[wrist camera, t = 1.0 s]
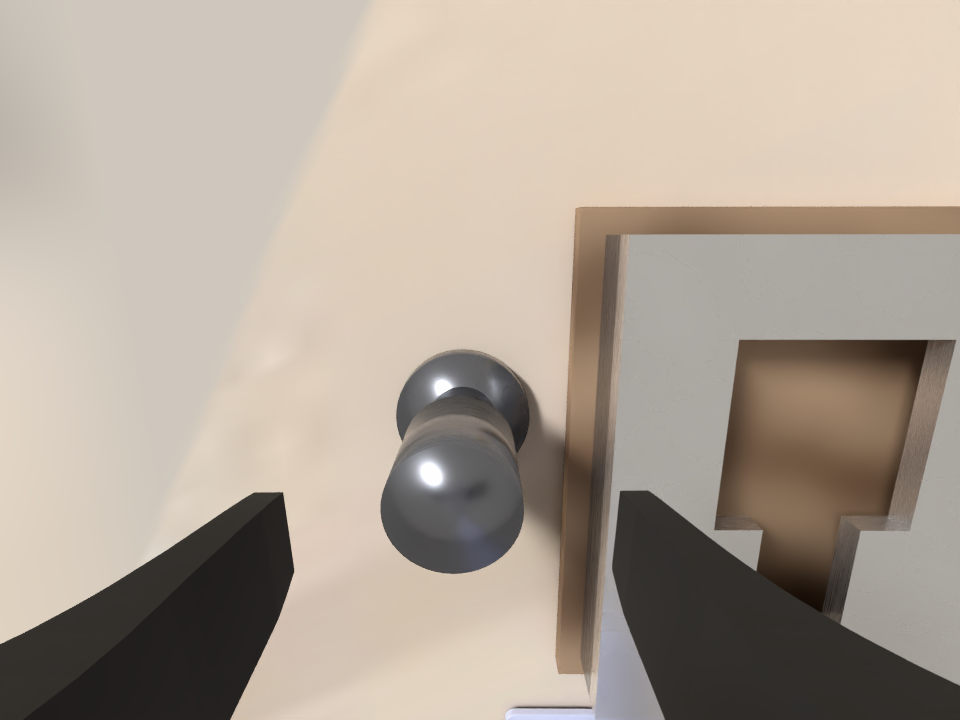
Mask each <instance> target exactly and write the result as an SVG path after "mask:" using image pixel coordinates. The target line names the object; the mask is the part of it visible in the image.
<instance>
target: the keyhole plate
mask: <svg viewBox="0 0 960 720" xmlns="http://www.w3.org/2000/svg"><path fill="white" fill-rule="evenodd" d="M739 340H928V344H927V348H926V353H925V357H924V362H923V366H922V370H921V375H920V379H919V383H918V388H917V392H916V396H915V401H914V405H913V409H912V414H911V418H910V422H909V427H908V431H907V435H906V440H905V444H904V448H903V453H902V457H901V462H900V466H899V470H898V475H897V479H896V483H895V488H894V492H893V496H892V501H891V505H890V509H889V514H888V516H841V521H840V525H839V530H838V535H837V540H836V545H835V550H834V555H833V560H832V565H831V570H830V575H829V579H828V584H827V589H826V594H825V599H824V604H823V609H822V614H824V615H825V616H827V617H829V618H831V619H832V620H834V621H836V622H837V623H839V624H841V625H842V626H844V627H846V628H848V629H850V630H851V631H853V632H855V633H857V634H859V635H861V636H862V637H864V638H866V639H868V640H870V641H872V642H874V643H876V644H877V645H879V646H881V647H883V648H885V649H887V650H889V651H891V652H893V653H895V654H897V655H899V656H901V657H903V658H904V659H906V660H908V661H910V662H912V663H914V664H916V665H918V666H920V667H922V668H924V669H926V670H928V671H930V672H933V673H935V674H937V675H939V676H941V677H943V678H945V679H947V680H949V681H951V682H953V683H955V684H958V685H960V234H652V235H606V241H605V257H604V274H603V291H602V307H601V324H600V340H599V357H598V373H597V390H596V406H595V423H594V439H593V456H592V472H591V489H590V505H589V522H588V538H587V555H586V571H585V588H584V604H583V621H582V637H581V654H580V658H581V662H582V666H583V671H584V675H585V679H586V684H587V688H588V692H589V697H590V701H591V706H592V710H593V714H594V719H622V720H665V718H664V716H663V713H662V711H661V708H660V706H659V703H658V701H657V698H656V696H655V693H654V691H653V688H652V686H651V683H650V681H649V678H648V676H647V673H646V671H645V668H644V666H643V663H642V661H641V658H640V656H639V653H638V650H637V648H636V645H635V643H634V640H633V638H632V635H631V633H630V630H629V627H628V625H627V622H626V620H625V617H624V614H623V610H622V607H621V603H620V599H619V596H618V592H617V588H616V584H615V580H614V576H613V572H612V561H613V552H614V542H615V533H616V524H617V514H618V505H619V496H620V491H638V490H648V491H650V492H651V493H653V494H654V495H656V496H657V497H658V498H660V499H661V500H662V501H664V502H665V503H666V504H667V505H669V506H670V507H671V508H672V509H674V510H675V511H676V512H678V513H679V514H680V515H681V516H683V517H684V518H685V519H686V520H688V521H689V522H690V523H692V524H693V525H694V526H695V527H697V528H698V529H699V530H700V531H702V532H703V533H704V534H706V535H707V536H708V537H710V538H711V539H712V540H714V541H715V542H716V543H717V544H719V545H720V546H721V547H723V548H724V549H726V550H727V551H728V552H730V553H731V554H732V555H734V556H735V557H736V558H738V559H739V560H741V561H742V562H743V563H745V564H746V565H748V566H749V567H751V568H752V569H753V570H755V571H756V570H757V564H758V557H759V551H760V545H761V539H762V533H763V530H762V529H761V528H760V527H759V526H758V525H757V524H756V523H755V522H754V521H753V520H752V519H751V517H750V516H749V515H716V511H717V504H718V496H719V489H720V481H721V474H722V466H723V458H724V451H725V443H726V436H727V428H728V421H729V413H730V406H731V398H732V391H733V383H734V375H735V368H736V360H737V353H738V345H739Z"/></svg>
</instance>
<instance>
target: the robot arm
mask: <svg viewBox="0 0 960 720" xmlns="http://www.w3.org/2000/svg"><path fill="white" fill-rule="evenodd" d="M612 572H613V576H614V580H615V584H616V588H617V592H618V596H619V599H620V603H621V607H622V610H623V614H624V617H625V620H626V622H627V625H628V627H629V630H630V633H631V635H632V638H633V640H634V643H635V645H636V648H637V650H638V653H639V656H640V658H641V661H642V663H643V666H644V668H645V671H646V673H647V676H648V678H649V681H650V683H651V686H652V688H653V691H654V693H655V696H656V698H657V701H658V703H659V706H660V708H661V711H662V713H663V716H664V718H665V720H960V685H958V684H955V683H953V682H951V681H949V680H947V679H945V678H943V677H941V676H939V675H937V674H935V673H933V672H930V671H928V670H926V669H924V668H922V667H920V666H918V665H916V664H914V663H912V662H910V661H908V660H906V659H904V658H903V657H901V656H899V655H897V654H895V653H893V652H891V651H889V650H887V649H885V648H883V647H881V646H879V645H877V644H876V643H874V642H872V641H870V640H868V639H866V638H864V637H862V636H861V635H859V634H857V633H855V632H853V631H851V630H850V629H848V628H846V627H844V626H842V625H841V624H839V623H837V622H836V621H834V620H832V619H831V618H829V617H827V616H825V615H824V614H822V613H820V612H819V611H817V610H815V609H814V608H812V607H810V606H809V605H807V604H805V603H804V602H802V601H800V600H799V599H797V598H796V597H794V596H792V595H791V594H789V593H788V592H786V591H785V590H783V589H781V588H780V587H778V586H777V585H775V584H774V583H772V582H771V581H770V580H768V579H767V578H765V577H764V576H762V575H761V574H759V573H758V572H756V571H755V570H753V569H752V568H751V567H749V566H748V565H746V564H745V563H743V562H742V561H741V560H739V559H738V558H736V557H735V556H734V555H732V554H731V553H730V552H728V551H727V550H726V549H724V548H723V547H721V546H720V545H719V544H717V543H716V542H715V541H714V540H712V539H711V538H710V537H708V536H707V535H706V534H704V533H703V532H702V531H700V530H699V529H698V528H697V527H695V526H694V525H693V524H692V523H690V522H689V521H688V520H686V519H685V518H684V517H683V516H681V515H680V514H679V513H678V512H676V511H675V510H674V509H672V508H671V507H670V506H669V505H667V504H666V503H665V502H664V501H662V500H661V499H660V498H658V497H657V496H656V495H654V494H653V493H651V492H650V491H648V490H638V491H620V496H619V505H618V514H617V524H616V533H615V542H614V552H613V561H612ZM293 574H294V565H293V558H292V551H291V544H290V537H289V530H288V524H287V517H286V510H285V503H284V496H283V492H275V493H253V494H251V495H249V496H248V497H246V498H244V499H243V500H241V501H240V502H238V503H236V504H235V505H233V506H232V507H230V508H229V509H227V510H226V511H224V512H223V513H221V514H220V515H218V516H217V517H215V518H214V519H213V520H211V521H210V522H208V523H207V524H205V525H204V526H202V527H201V528H199V529H198V530H196V531H195V532H193V533H192V534H190V535H189V536H187V537H186V538H184V539H183V540H181V541H180V542H178V543H177V544H175V545H174V546H172V547H171V548H169V549H168V550H166V551H165V552H163V553H162V554H160V555H159V556H157V557H155V558H154V559H152V560H151V561H149V562H147V563H146V564H144V565H142V566H141V567H139V568H138V569H136V570H134V571H133V572H131V573H130V574H128V575H126V576H125V577H123V578H122V579H120V580H119V581H117V582H115V583H114V584H112V585H110V586H109V587H107V588H105V589H104V590H102V591H100V592H99V593H97V594H95V595H93V596H92V597H90V598H88V599H86V600H84V601H83V602H81V603H79V604H77V605H76V606H74V607H72V608H70V609H68V610H66V611H65V612H63V613H61V614H59V615H57V616H55V617H54V618H51V619H50V620H48V621H46V622H44V623H42V624H40V625H39V626H37V627H35V628H33V629H31V630H29V631H27V632H25V633H23V634H21V635H19V636H17V637H14V638H12V639H10V640H8V641H6V642H4V643H2V644H0V720H230V719H231V717H232V715H233V713H234V711H235V708H236V706H237V704H238V702H239V700H240V698H241V696H242V694H243V692H244V690H245V688H246V686H247V684H248V682H249V679H250V677H251V675H252V673H253V671H254V669H255V667H256V665H257V663H258V661H259V659H260V657H261V655H262V652H263V650H264V648H265V646H266V644H267V642H268V640H269V638H270V636H271V633H272V631H273V629H274V627H275V625H276V623H277V621H278V618H279V616H280V613H281V610H282V607H283V604H284V601H285V599H286V596H287V592H288V589H289V586H290V583H291V580H292V577H293ZM505 720H622V719H594V714H593V710H592V709H548V708H514V709H510V710H508V711H507V712H506V715H505Z"/></svg>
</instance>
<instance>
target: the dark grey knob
mask: <svg viewBox="0 0 960 720" xmlns="http://www.w3.org/2000/svg"><path fill="white" fill-rule="evenodd" d="M396 419H397V427H398V431H399V435H400V437H401V440H402V444H401V447H400V449H399V452H398V454H397V457H396V459H395V462H394V465H393V467H392V470H391V472H390V475H389V477H388V480H387V482H386V485H385V488H384V491H383V494H382V499H381V519H382V523H383V527H384V529H385V532H386V534H387V536H388V538H389V539H390V541H391V543H392V544H393V545H394V547H395V548H396V549H397V550H398V551H399V552H400V553H401V554H402V555H403V556H404V557H406V558H407V559H408V560H410V561H411V562H413V563H415V564H416V565H418V566H421V567H423V568H425V569H428V570H431V571H435V572H440V573H450V574H457V573H467V572H472V571H475V570H479V569H481V568H484V567H486V566H488V565H490V564H492V563H494V562H495V561H497V560H498V559H499V558H501V557H502V556H503V555H504V554H505V553H506V552H507V551H508V550H509V549H510V548H511V546H512V545H513V544H514V542H515V541H516V539H517V537H518V535H519V533H520V530H521V527H522V523H523V517H524V504H523V497H522V490H521V484H520V477H519V470H518V464H517V457H516V453H517V452H518V451H519V449H520V448H521V446H522V444H523V442H524V440H525V437H526V435H527V430H528V426H529V409H528V403H527V399H526V396H525V393H524V390H523V387H522V385H521V383H520V381H519V380H518V378H517V377H516V375H515V374H514V373H513V372H512V371H511V369H510V368H509V367H507V366H506V365H505V364H504V363H503V362H501V361H500V360H498V359H497V358H495V357H493V356H490V355H488V354H485V353H482V352H479V351H474V350H463V349H462V350H452V351H447V352H443V353H440V354H437V355H435V356H433V357H431V358H429V359H428V360H426V361H425V362H423V363H422V364H421V365H420V366H419V367H417V368H416V370H415V371H414V372H413V373H412V374H411V376H410V377H409V379H408V380H407V382H406V384H405V386H404V388H403V390H402V392H401V394H400V397H399V400H398V405H397V415H396Z"/></svg>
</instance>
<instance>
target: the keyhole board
mask: <svg viewBox="0 0 960 720" xmlns="http://www.w3.org/2000/svg"><path fill="white" fill-rule="evenodd" d="M652 234H960V207H579V208H576V215H575V238H574V260H573V282H572V304H571V326H570V348H569V370H568V392H567V414H566V436H565V458H564V481H563V503H562V525H561V547H560V569H559V591H558V613H557V635H556V662H557V668H558V674H584V671H583V666H582V662H581V658H580V654H581V637H582V621H583V604H584V588H585V571H586V555H587V538H588V522H589V505H590V489H591V472H592V456H593V439H594V423H595V406H596V390H597V373H598V357H599V340H600V324H601V307H602V291H603V274H604V257H605V241H606V235H652ZM927 344H928V340H739V345H738V353H737V360H736V368H735V375H734V383H733V391H732V398H731V406H730V413H729V421H728V428H727V436H726V443H725V451H724V458H723V466H722V474H721V481H720V489H719V496H718V504H717V511H716V515H749V516H750V517H751V519H752V520H753V521H754V522H755V523H756V524H757V525H758V526H759V527H760V528H761V529H762V530H763V533H762V539H761V545H760V551H759V557H758V564H757V570H756V572H758V573H759V574H761V575H762V576H764V577H765V578H767V579H768V580H770V581H771V582H772V583H774V584H775V585H777V586H778V587H780V588H781V589H783V590H785V591H786V592H788V593H789V594H791V595H792V596H794V597H796V598H797V599H799V600H800V601H802V602H804V603H805V604H807V605H809V606H810V607H812V608H814V609H815V610H817V611H819V612H820V613H822V609H823V604H824V599H825V594H826V589H827V584H828V579H829V575H830V570H831V565H832V560H833V555H834V550H835V545H836V540H837V535H838V530H839V525H840V521H841V516H888V514H889V509H890V505H891V501H892V496H893V492H894V488H895V483H896V479H897V475H898V470H899V466H900V462H901V457H902V453H903V448H904V444H905V440H906V435H907V431H908V427H909V422H910V418H911V414H912V409H913V405H914V401H915V396H916V392H917V388H918V383H919V379H920V375H921V370H922V366H923V362H924V357H925V353H926V348H927Z"/></svg>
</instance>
